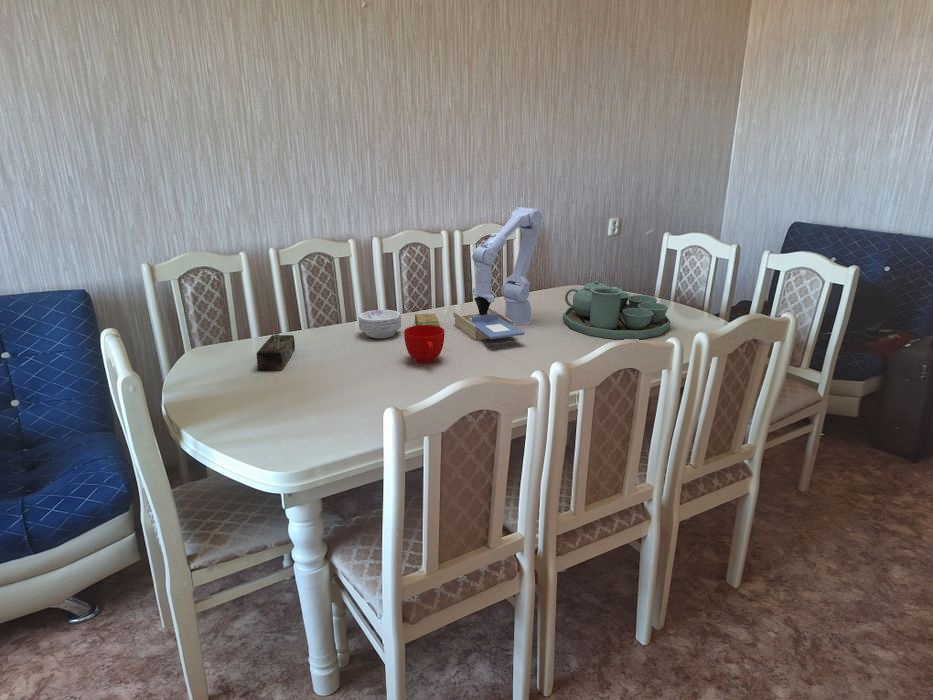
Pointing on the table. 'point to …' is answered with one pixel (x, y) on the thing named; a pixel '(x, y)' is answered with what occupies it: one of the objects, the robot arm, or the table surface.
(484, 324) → the lid
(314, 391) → the table surface
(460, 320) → the beige shallow box
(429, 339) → the ceramic cup
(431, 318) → the carton
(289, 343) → the dark brown block
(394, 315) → the paper bowls
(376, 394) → the table surface
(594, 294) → the tea set
